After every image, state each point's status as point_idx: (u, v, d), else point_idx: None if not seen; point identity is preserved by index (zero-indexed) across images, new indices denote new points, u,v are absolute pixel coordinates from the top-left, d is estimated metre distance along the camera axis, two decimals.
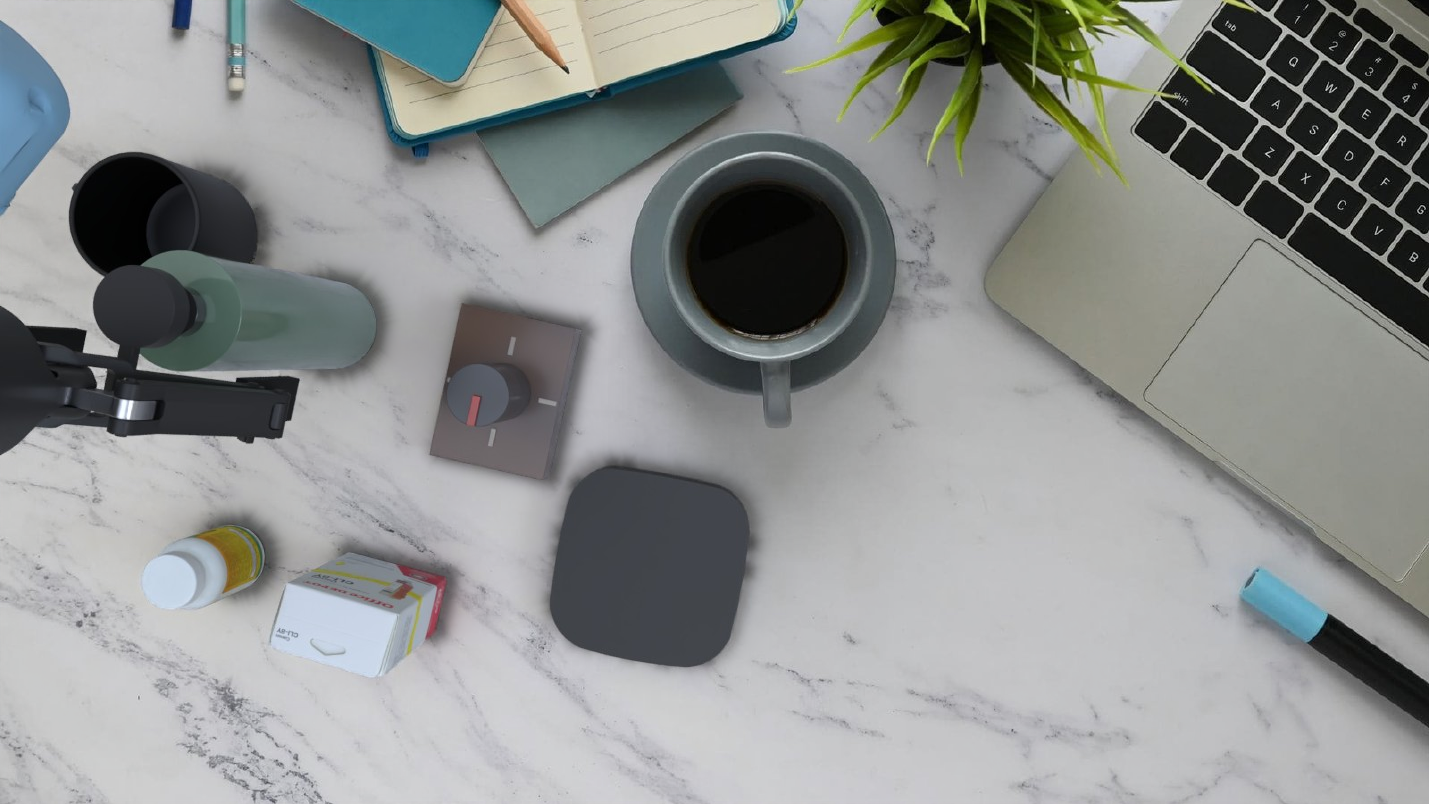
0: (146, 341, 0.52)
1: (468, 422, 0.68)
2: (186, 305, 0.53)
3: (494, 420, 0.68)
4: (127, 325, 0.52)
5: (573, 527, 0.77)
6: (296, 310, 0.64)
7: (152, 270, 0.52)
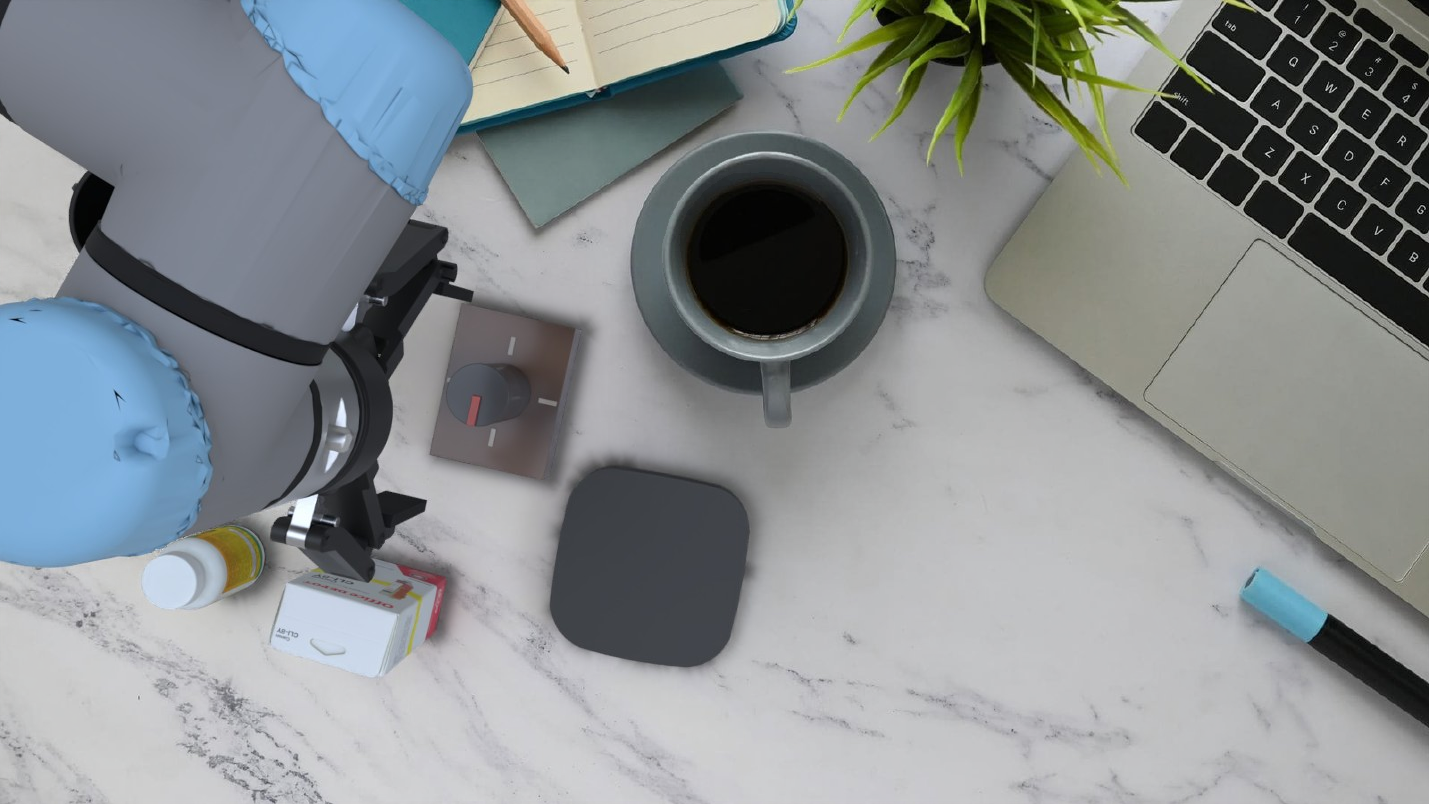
0: None
1: (468, 422, 0.68)
2: None
3: (494, 420, 0.68)
4: None
5: (573, 527, 0.77)
6: None
7: None
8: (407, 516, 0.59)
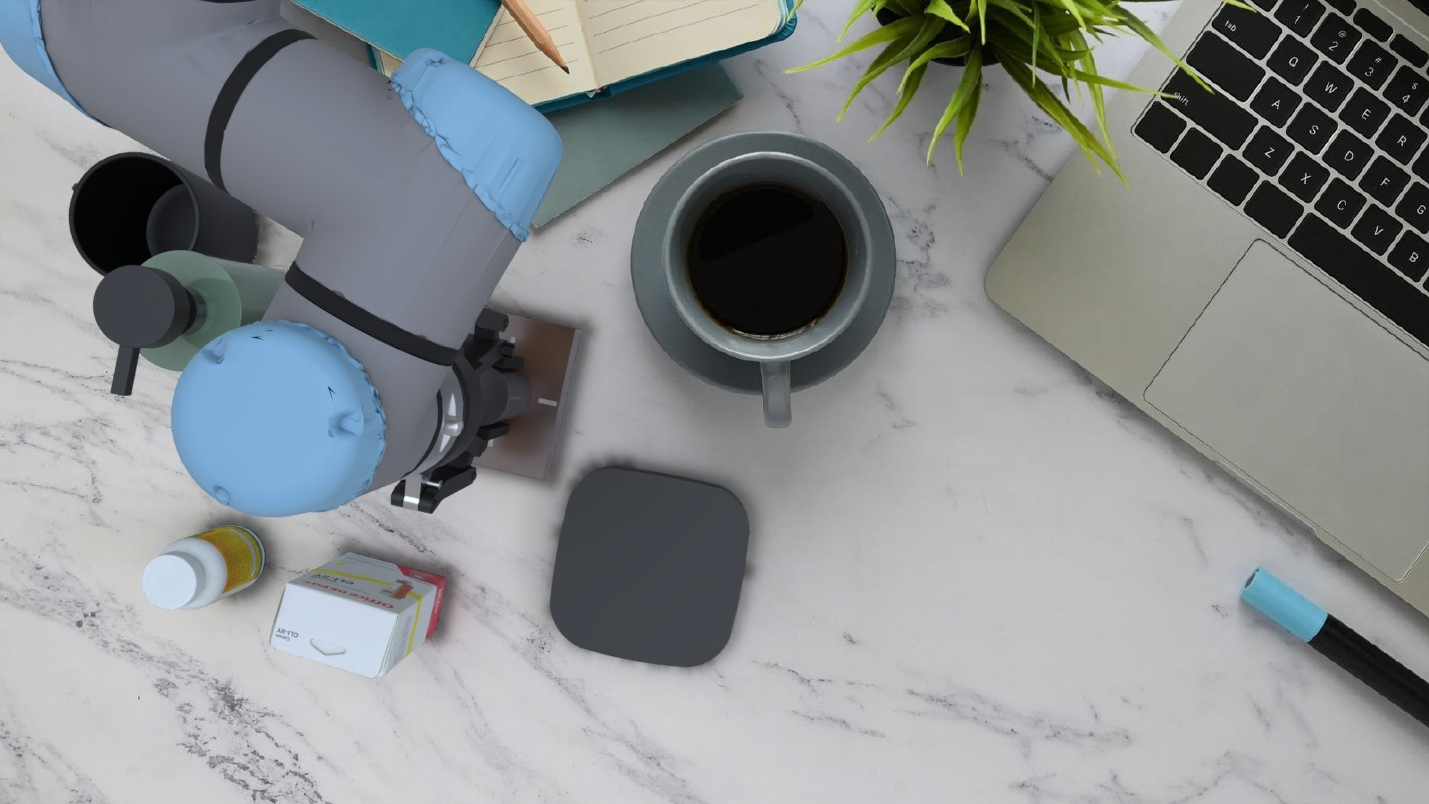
0: (146, 341, 0.52)
1: None
2: (186, 305, 0.53)
3: (494, 420, 0.68)
4: (127, 325, 0.52)
5: (573, 527, 0.77)
6: None
7: (152, 270, 0.52)
8: (497, 434, 0.71)
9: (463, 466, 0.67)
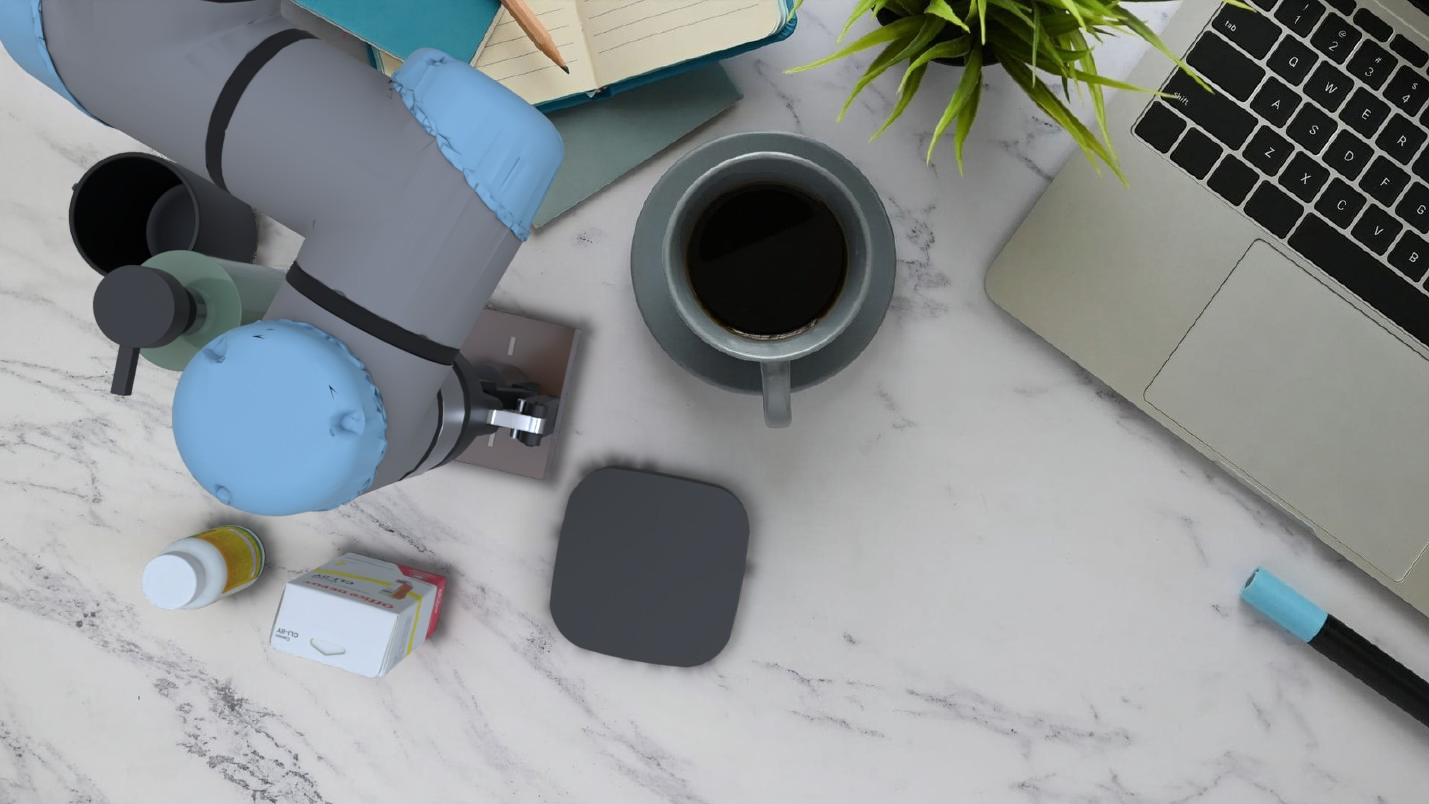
0: (146, 341, 0.52)
1: None
2: (186, 305, 0.53)
3: (502, 378, 0.68)
4: (127, 325, 0.52)
5: (573, 527, 0.77)
6: None
7: (152, 270, 0.52)
8: (527, 384, 0.71)
9: None
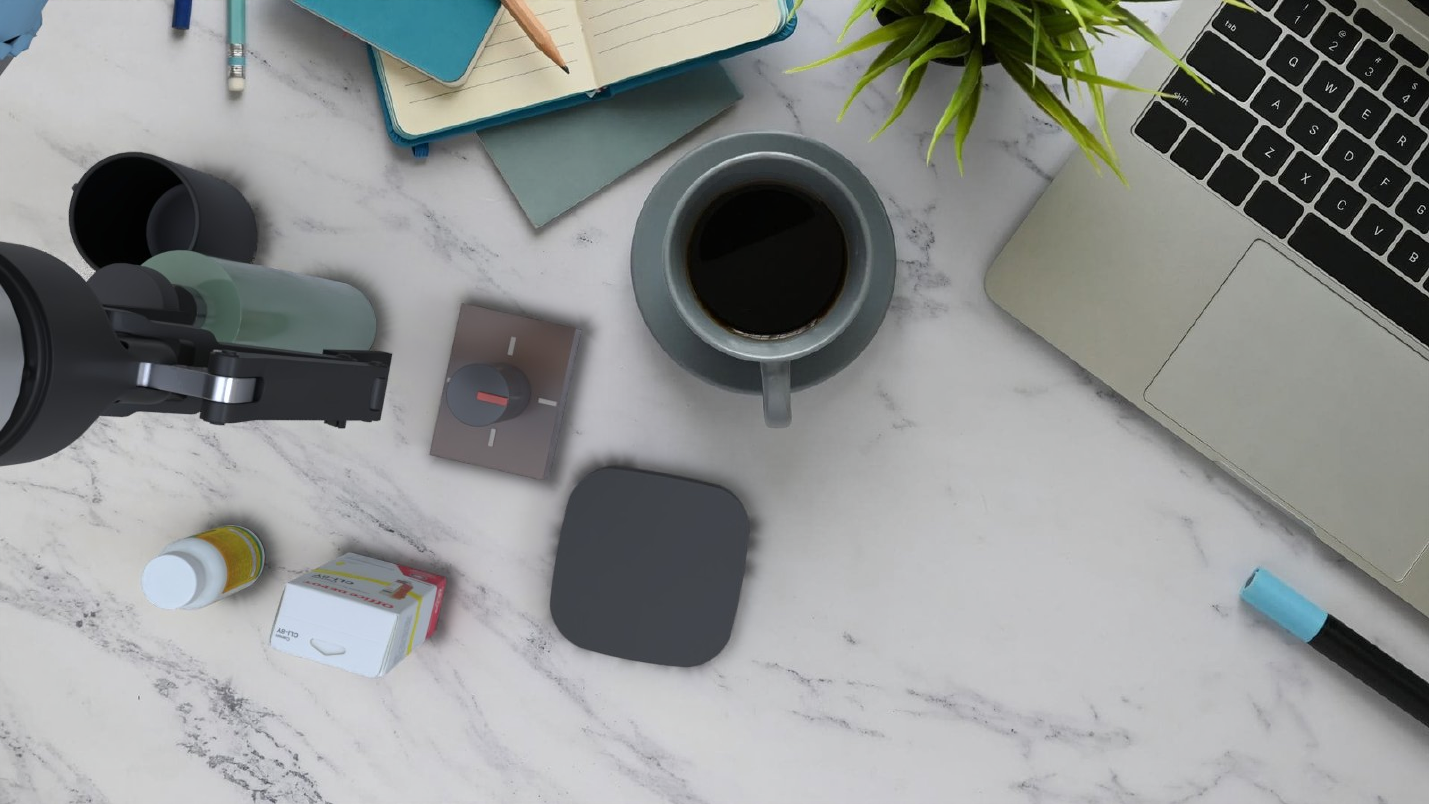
0: None
1: (503, 403, 0.68)
2: (175, 304, 0.52)
3: (502, 378, 0.68)
4: None
5: (573, 527, 0.77)
6: (296, 310, 0.64)
7: (140, 268, 0.51)
8: (359, 351, 0.48)
9: None
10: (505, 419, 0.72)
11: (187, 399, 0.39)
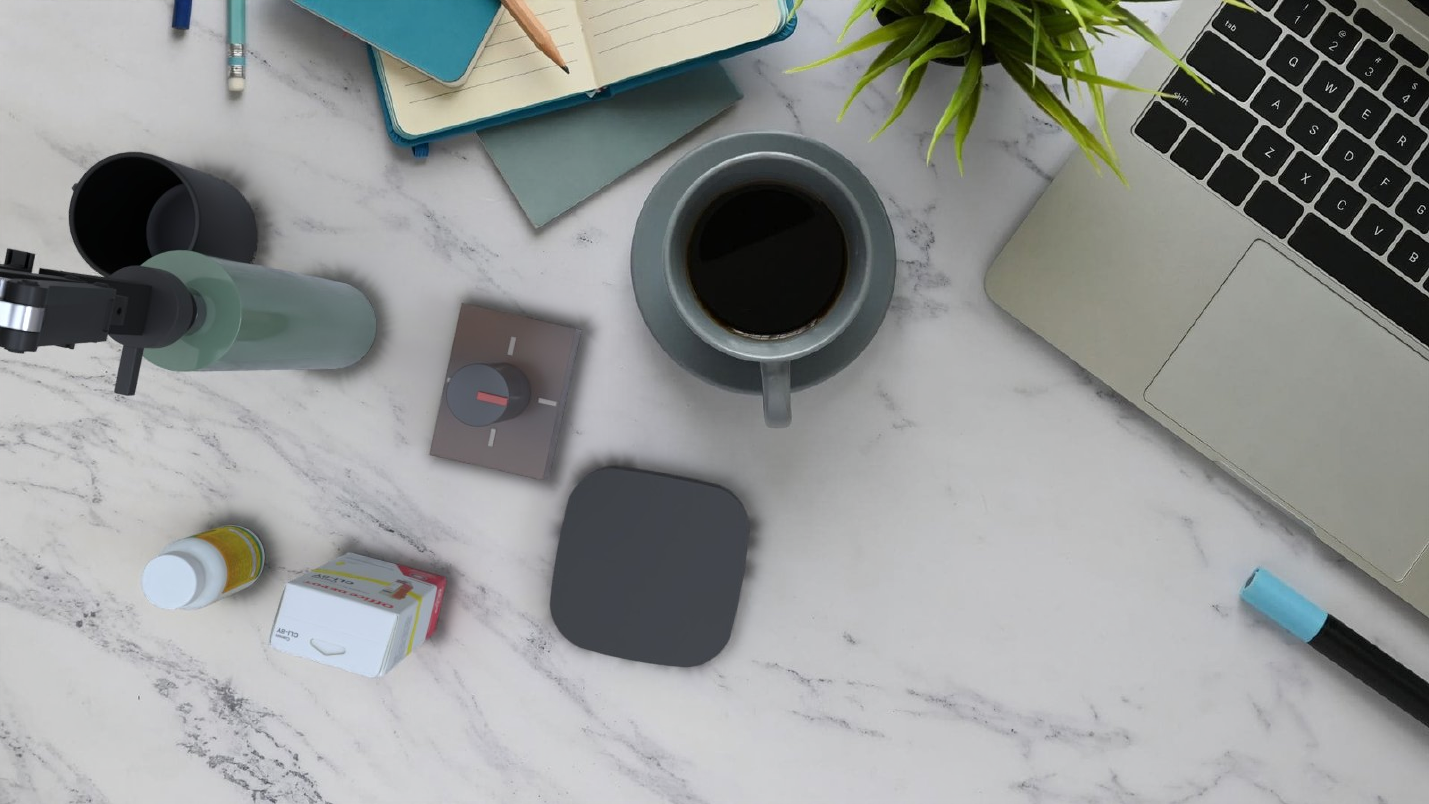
0: (149, 341, 0.53)
1: (503, 403, 0.68)
2: (189, 306, 0.54)
3: (502, 378, 0.68)
4: None
5: (573, 527, 0.77)
6: (296, 310, 0.64)
7: (155, 271, 0.52)
8: (104, 278, 0.49)
9: None
10: (505, 419, 0.72)
11: None
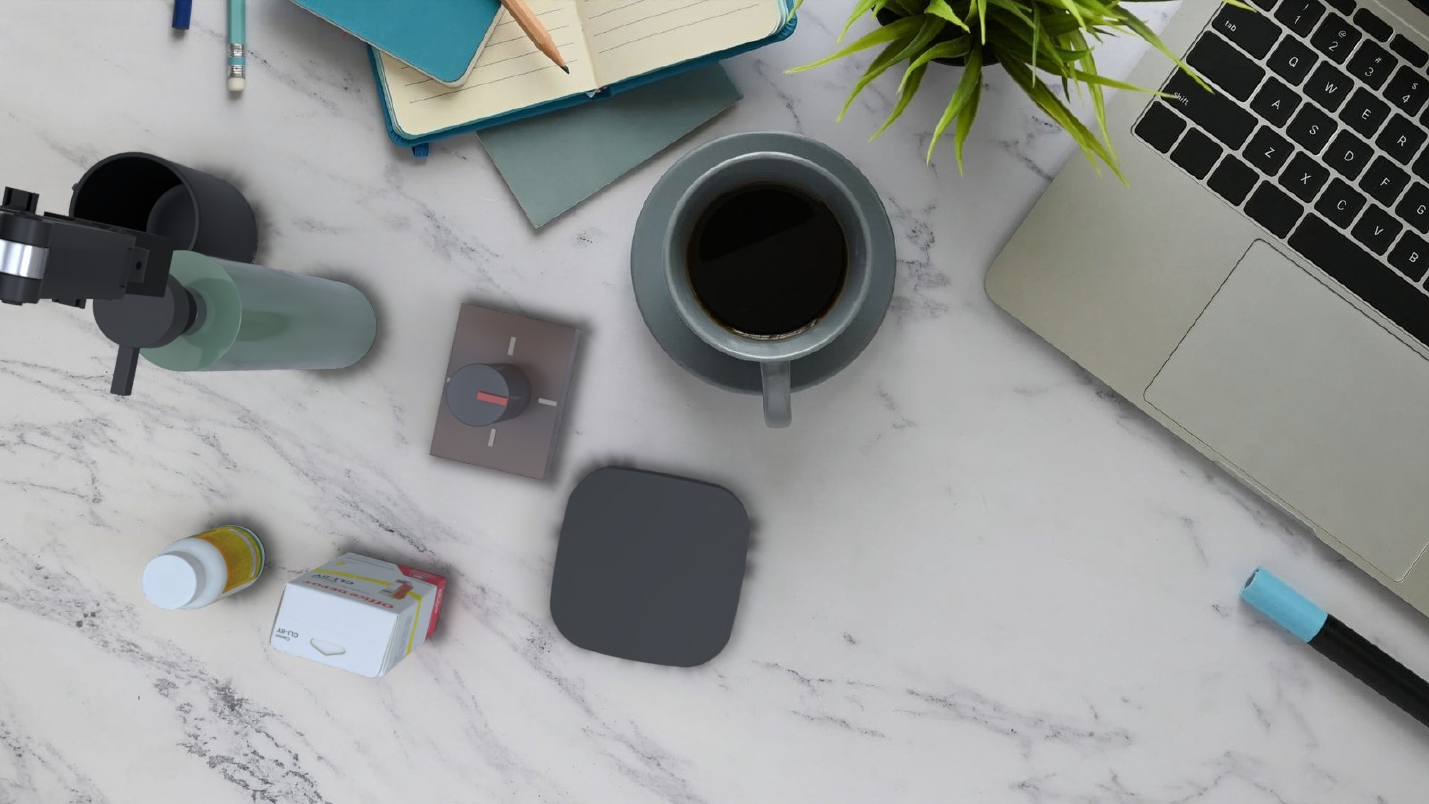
0: (146, 341, 0.52)
1: (503, 403, 0.68)
2: (185, 305, 0.53)
3: (502, 378, 0.68)
4: (127, 325, 0.52)
5: (573, 527, 0.77)
6: (296, 310, 0.64)
7: None
8: None
9: None
10: (505, 419, 0.72)
11: None
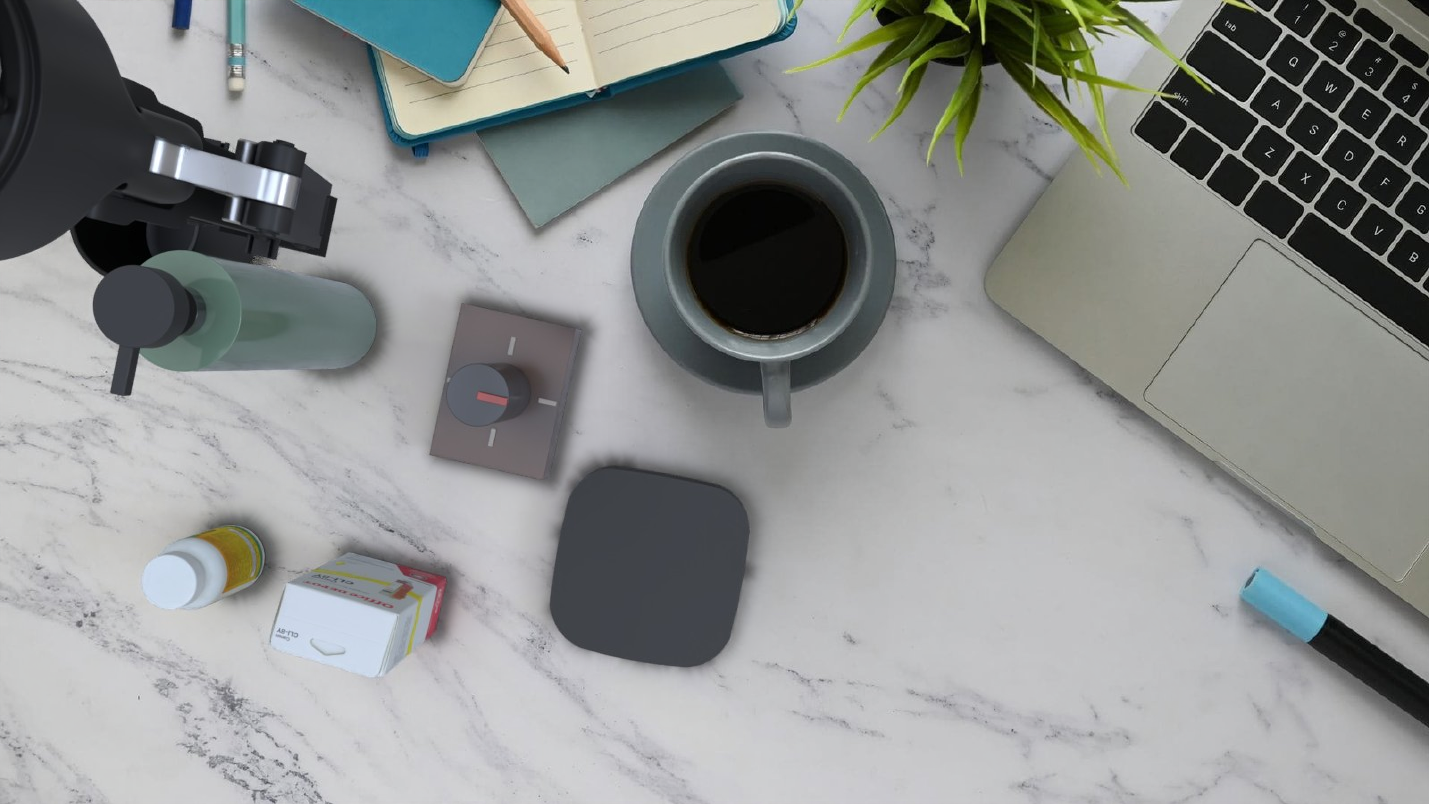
0: (146, 341, 0.52)
1: (503, 403, 0.68)
2: (185, 305, 0.53)
3: (502, 378, 0.68)
4: (127, 325, 0.52)
5: (573, 527, 0.77)
6: (296, 310, 0.64)
7: (152, 270, 0.52)
8: None
9: None
10: (505, 419, 0.72)
11: (174, 208, 0.30)
